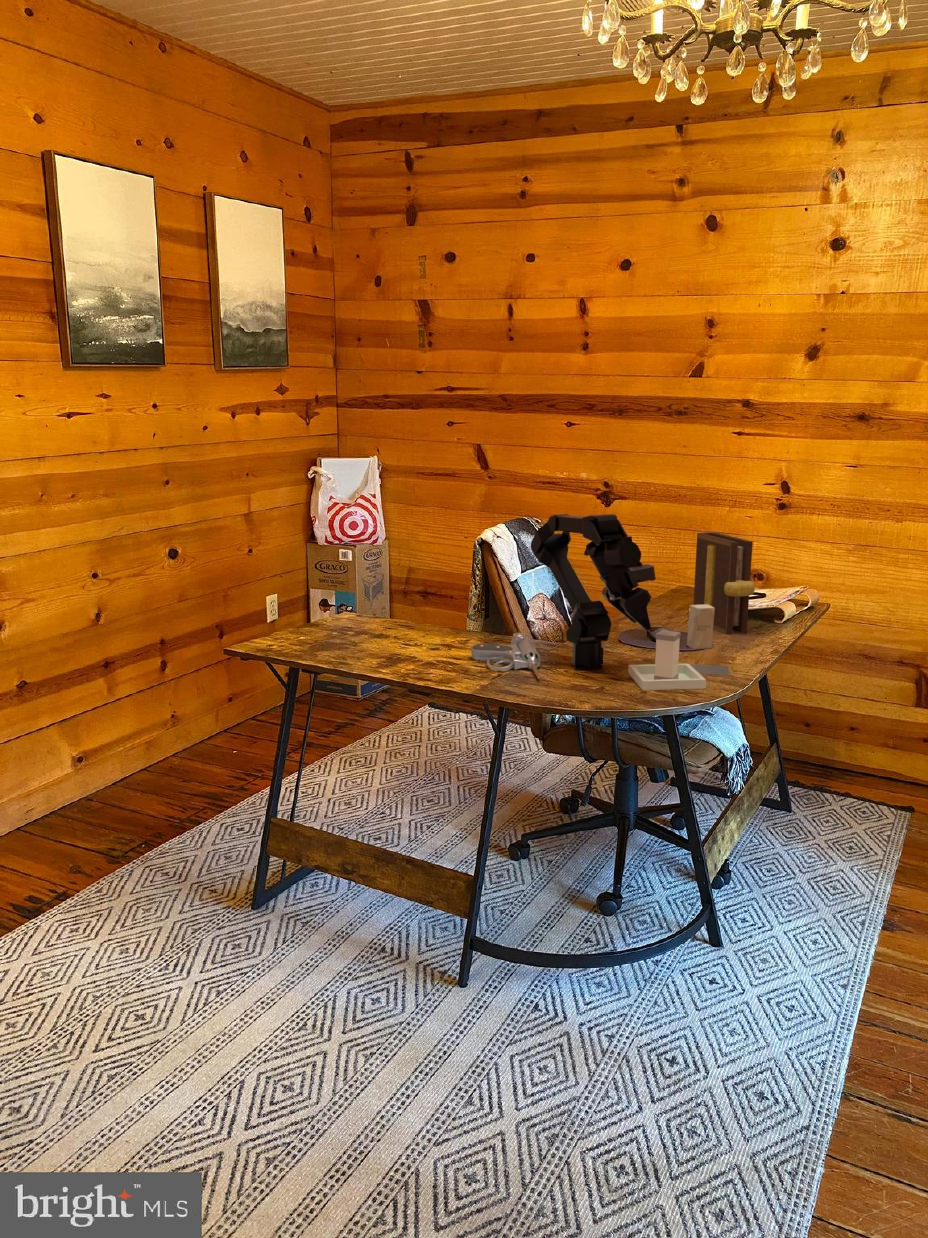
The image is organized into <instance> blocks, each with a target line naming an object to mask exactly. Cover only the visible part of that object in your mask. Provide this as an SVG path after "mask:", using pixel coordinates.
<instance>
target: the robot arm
mask: <svg viewBox="0 0 928 1238" xmlns="http://www.w3.org/2000/svg"><path fill="white" fill-rule="evenodd" d="M555 532H556V533H555ZM558 532H559V533H558ZM560 532H562V533H560ZM571 533H572V534H573V533H574V534H580V535H582V537H583V538H585V539H587V540H588V541H590V542H589V543H587V544H585V550H584V553H583V555H584V556H585V557H588V556H589V557H590V559H591V562H592V563H593V565H594V567H595V568H596V570H597V572H598V574H599V579H600V581H601V582H603V583H604V585H605V586H604V587H603V588H602V591H601V595H602V596H603V598H604V601H607V603H608V604H609V605H611V606H612V607H613V608H614V609H616V610H617V611H618V612H620V614H622V615H623V616H625V617H626V618H627V619H628V620H629V621H631V622H632V623H633V624H637V623H638V624H639V626H641V628H643V629H645V630H646V631H649V630H651V629H652V626H651V621H650V617H649V614H648V605H649V603H650V602H651V600H652V598H653V597H652V595H651V593H650V592H649V590H647V589H646V588H643V587H639V583H644V582H648V581H651V582H653V581H656V578H657V577H656V571H655V566H654V565H652V564H647V563H645V564H643V563H642V561H641V559H642V550H641V549H640V547H639V545H638V544H636V543H635V542H633V537H632V536H628V533H627V532H626V530H625V529H624V526H623V525H622V524H621V521H620V520H619V519H618V516H617V515H616V514H614V513H608V514H596V515H595V514H592V515H585V516H581V515H580V516H578V515H571V514H567V513H563V514H562V513H560V514H552V515H551V516H550V517H549V518H548V520H547V522H546V523H545V524H543V525H542V526H541V527H540V528H538V529H537V530H536V532H535V534H534V536H533V537H532V540H531V543H530V549H531V553H532V554H533V556H534V557H535V559H536V560H537V561H538V562H539V563H540V564H542V565H543V566H545V567H547V568H549V570H550V571H551V573H552V575H553V577H554V580H555V581H556V583H557V585H558V586H559V588H560V590H561V592H562V594H563V596H564V597H565V600H566V601H567V603H568V605H569V607H570V609H571V611H572V615H571V620H570V621H571V624H570V626H569V627H568V628H567V630H566V631H565V636H566V641H568V642H569V643H572V660H570V663H571V665H572V667H573V668H574V669H575V670H602V669H603V667H604V666H603V664H604V653H605V651H604V647H603V646H602V642H608V640H609V636H610V633H611V628H612V620H611V618H610V616H609V611H608V610H607V609H606V606H605V605H604V603H603V602H602V601H601V600H591V598H590V596H589V594H588V593H587V591H586V589H585V587H584V586H583V584H582V582H581V580H580V579H579V577H578V575H577V572H576V571H575V569H574V568H573V565H572V564H571V562H570V559H568V553H569V545H570V543H571V540H572V538H571V537H572V536H571Z"/></svg>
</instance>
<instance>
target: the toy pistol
mask: <svg viewBox="0 0 928 1238" xmlns="http://www.w3.org/2000/svg"><path fill="white" fill-rule="evenodd" d="M510 641H511V642H510V645H509V644H501V643H500V644H498V643H483V642H482V643H476V644H474V645H472V646H471V647H470V648H471V649H470V651H471V652H470V653H471V659H472V658H473V659H475V660H474V661H476V660H480V661H479V662H482V661H487V662H486V666H487V668H489V669H490V670H493V671H508V670H511V669H513V670H515V671H516V670H520V669H529V671H533V672H534V674H535V675H536V678H537V680H541V676H540V674H539V670H538V667H540V664H541V657H540V654H539V653H538V651H537V650H538V649H536V647H535V644H534V642H533V640H532V636H529V635H528V636H527V635H526V636H525V634H524V633H523V632H515V633H513V634H512V638H510ZM473 659H472V660H473ZM492 661H493V662H492ZM494 662H496V663H494ZM490 663H493V665H492V664H490ZM503 663H504V664H505V666H496V665H498V664H503Z"/></svg>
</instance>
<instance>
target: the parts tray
mask: <svg viewBox="0 0 928 1238" xmlns="http://www.w3.org/2000/svg"><path fill="white" fill-rule="evenodd" d="M627 674H628V676H629V677H631V679H632V681H634V682H635V683H636V684H637V686H638V687H639V688H640V689H641V690H642V691H669V690H671V691H672V690H704V689H705V690H706V689H707V679H706V678H705V677H704V676H703V674H699V673H698V672H697V671H696V670H695V669H694V668H693V667H692V666H690V665H689V663H678V679H661V680H654V675H655V664H652V663H651V664H650V663H649V664H628V672H627Z"/></svg>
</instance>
